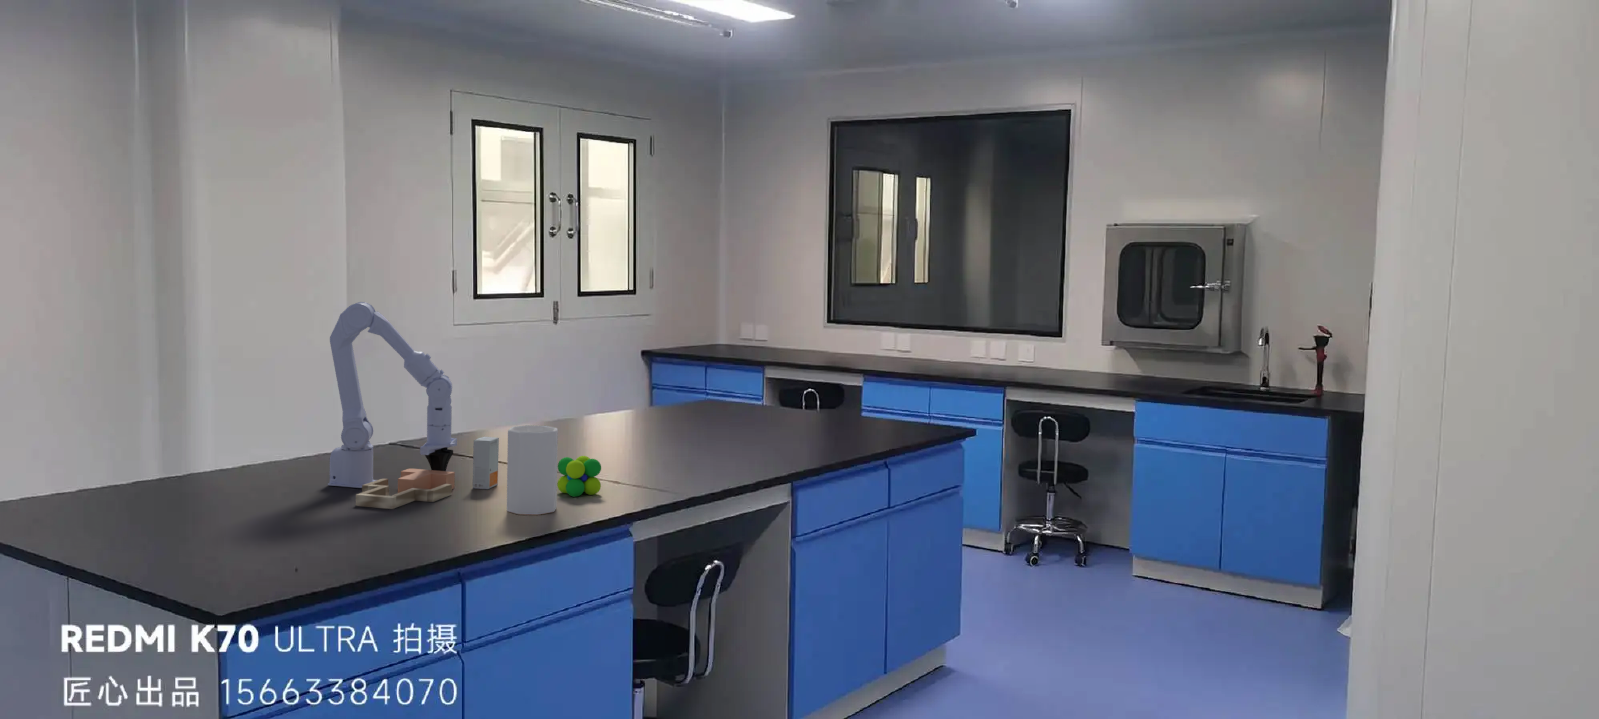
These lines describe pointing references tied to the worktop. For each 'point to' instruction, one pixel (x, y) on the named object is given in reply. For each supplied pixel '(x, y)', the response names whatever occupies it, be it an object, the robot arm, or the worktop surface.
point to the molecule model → (579, 476)
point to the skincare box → (485, 462)
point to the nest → (397, 495)
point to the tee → (424, 479)
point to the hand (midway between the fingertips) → (438, 479)
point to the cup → (532, 470)
